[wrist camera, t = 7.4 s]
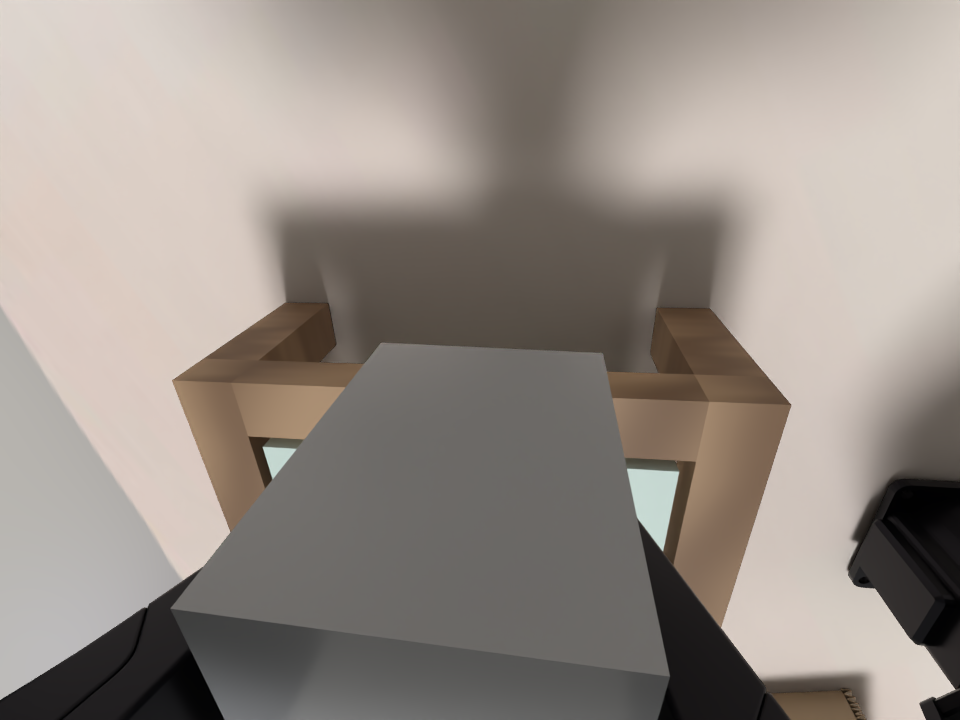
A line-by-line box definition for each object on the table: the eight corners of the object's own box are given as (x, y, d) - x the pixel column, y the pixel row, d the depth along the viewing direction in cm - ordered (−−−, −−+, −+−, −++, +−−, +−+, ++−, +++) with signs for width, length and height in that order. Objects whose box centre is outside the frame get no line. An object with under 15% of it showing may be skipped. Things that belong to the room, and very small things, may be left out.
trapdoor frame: (710, 308, 18) (791, 405, 12) (650, 605, 26) (681, 753, 20) (285, 302, 21) (171, 380, 14) (350, 575, 29) (295, 700, 23)
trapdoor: (626, 690, 20) (629, 716, 19) (342, 655, 22) (333, 677, 21) (671, 450, 14) (679, 471, 13) (278, 429, 16) (262, 446, 15)
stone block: (603, 353, 9) (669, 676, 4) (583, 522, 11) (608, 887, 6) (380, 342, 10) (170, 608, 4) (401, 505, 12) (274, 820, 6)
